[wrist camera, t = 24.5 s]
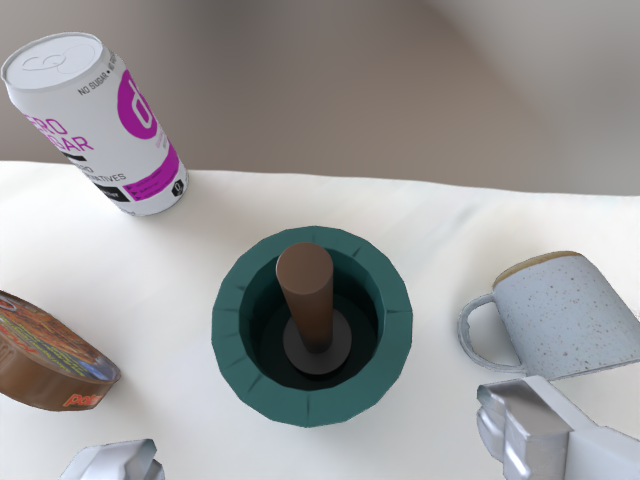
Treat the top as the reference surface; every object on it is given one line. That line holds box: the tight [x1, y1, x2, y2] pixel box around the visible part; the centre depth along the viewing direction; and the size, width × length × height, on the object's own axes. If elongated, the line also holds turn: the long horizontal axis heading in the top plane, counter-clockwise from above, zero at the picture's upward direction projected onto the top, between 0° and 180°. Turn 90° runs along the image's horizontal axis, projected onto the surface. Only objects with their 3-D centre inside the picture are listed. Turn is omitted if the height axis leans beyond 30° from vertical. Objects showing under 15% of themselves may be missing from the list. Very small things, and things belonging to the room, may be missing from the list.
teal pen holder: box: [211, 226, 413, 428], centre depth 22 cm, size 11×11×11 cm
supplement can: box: [1, 32, 188, 216], centre depth 29 cm, size 8×8×15 cm
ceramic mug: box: [458, 251, 640, 381], centre depth 24 cm, size 11×8×8 cm
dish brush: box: [276, 242, 353, 381], centre depth 19 cm, size 5×5×16 cm
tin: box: [0, 290, 120, 411], centre depth 24 cm, size 15×3×8 cm, turn 60°
